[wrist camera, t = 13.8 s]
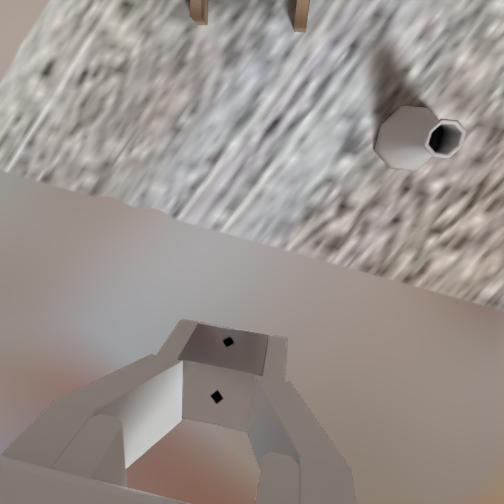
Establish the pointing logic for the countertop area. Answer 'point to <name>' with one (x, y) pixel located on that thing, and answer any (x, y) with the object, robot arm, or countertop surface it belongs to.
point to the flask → (417, 138)
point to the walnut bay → (201, 13)
